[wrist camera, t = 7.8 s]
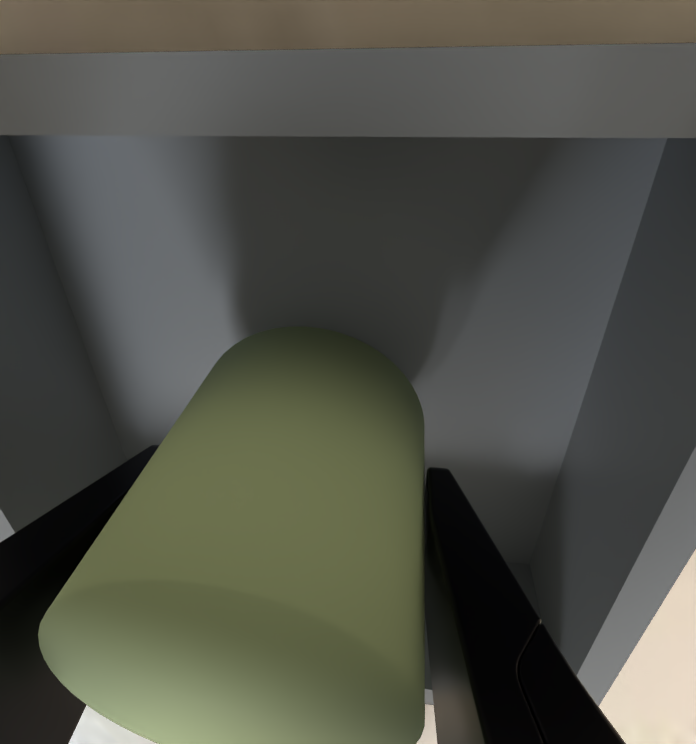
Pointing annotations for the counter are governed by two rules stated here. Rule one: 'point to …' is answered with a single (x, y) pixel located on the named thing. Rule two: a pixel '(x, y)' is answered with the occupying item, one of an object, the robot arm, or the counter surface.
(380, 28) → the counter surface
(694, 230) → the charcoal bin
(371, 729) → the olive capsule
